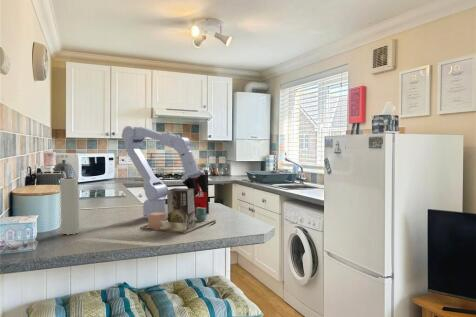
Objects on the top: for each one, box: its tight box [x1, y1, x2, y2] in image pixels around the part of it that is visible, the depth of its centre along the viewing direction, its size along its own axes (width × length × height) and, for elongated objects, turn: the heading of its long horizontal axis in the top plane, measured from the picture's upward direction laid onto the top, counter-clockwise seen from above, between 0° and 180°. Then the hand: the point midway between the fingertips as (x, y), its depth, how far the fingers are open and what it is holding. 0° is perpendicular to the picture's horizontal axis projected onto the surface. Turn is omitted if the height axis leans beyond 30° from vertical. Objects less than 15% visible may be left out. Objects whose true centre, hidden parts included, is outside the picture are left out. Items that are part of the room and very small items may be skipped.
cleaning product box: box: [192, 169, 210, 215], centre depth 172 cm, size 16×9×20 cm, turn 6°
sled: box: [159, 207, 212, 232], centre depth 138 cm, size 12×21×6 cm, turn 154°
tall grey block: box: [59, 177, 80, 236], centre depth 131 cm, size 7×6×21 cm
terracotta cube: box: [147, 212, 167, 228], centre depth 136 cm, size 5×5×5 cm
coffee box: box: [166, 187, 196, 230], centre depth 133 cm, size 9×6×16 cm
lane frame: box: [139, 217, 216, 235], centre depth 139 cm, size 21×22×6 cm
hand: (200, 193), depth 145 cm, fingers open, 7 cm apart
